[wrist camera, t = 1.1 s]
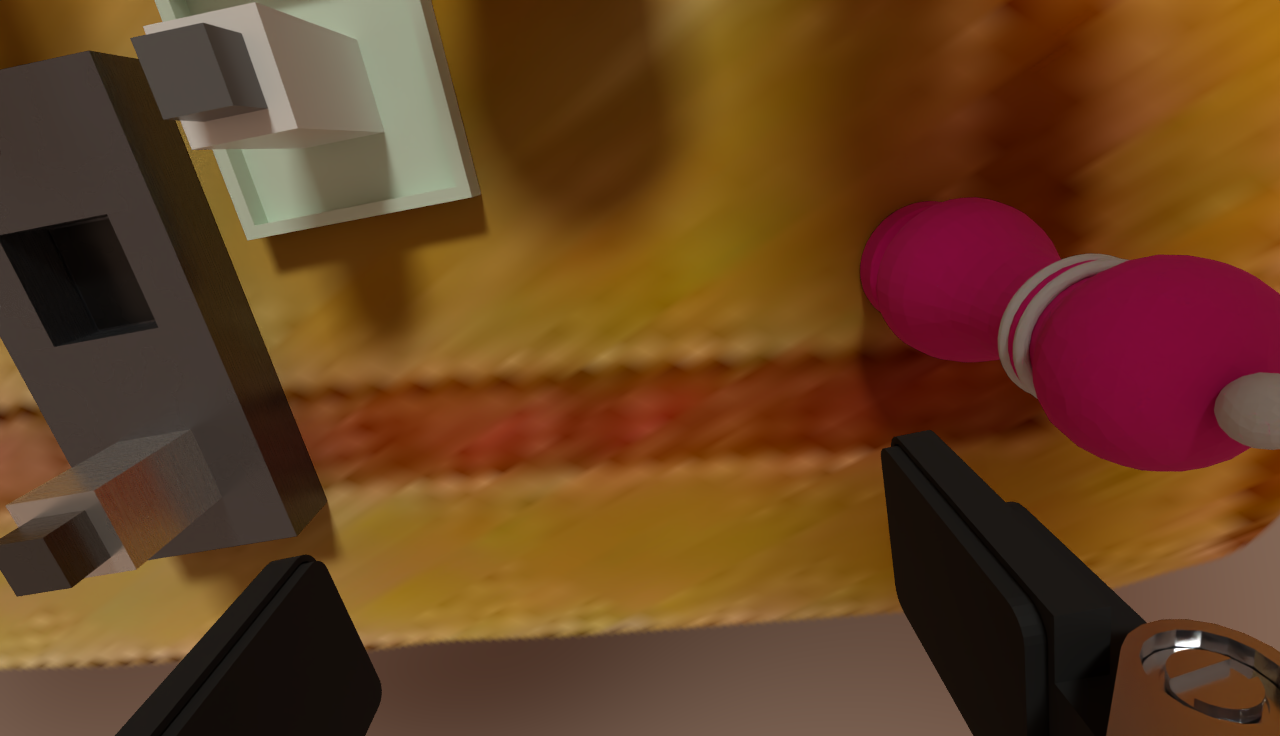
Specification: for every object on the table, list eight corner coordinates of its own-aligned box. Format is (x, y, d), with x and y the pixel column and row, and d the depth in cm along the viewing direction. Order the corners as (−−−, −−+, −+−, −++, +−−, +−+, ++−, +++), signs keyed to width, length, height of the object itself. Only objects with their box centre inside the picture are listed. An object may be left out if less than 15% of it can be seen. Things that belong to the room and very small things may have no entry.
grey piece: (-46, 102, 30) (-434, 79, 19) (150, 61, 29) (-136, 12, 19) (169, 527, 38) (-20, 680, 27) (327, 501, 37) (198, 647, 26)
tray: (175, -12, 28) (145, -22, 27) (414, -65, 28) (399, -78, 26) (268, 235, 32) (247, 240, 30) (480, 194, 31) (471, 197, 30)
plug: (273, 57, 29) (94, 14, 19) (356, 39, 29) (216, -12, 19) (304, 148, 30) (151, 150, 21) (384, 132, 30) (266, 126, 20)
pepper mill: (1020, 240, 32) (1561, 376, 13) (927, 354, 34) (1280, 613, 15) (910, 161, 31) (1334, 189, 12) (821, 285, 33) (1062, 474, 14)
